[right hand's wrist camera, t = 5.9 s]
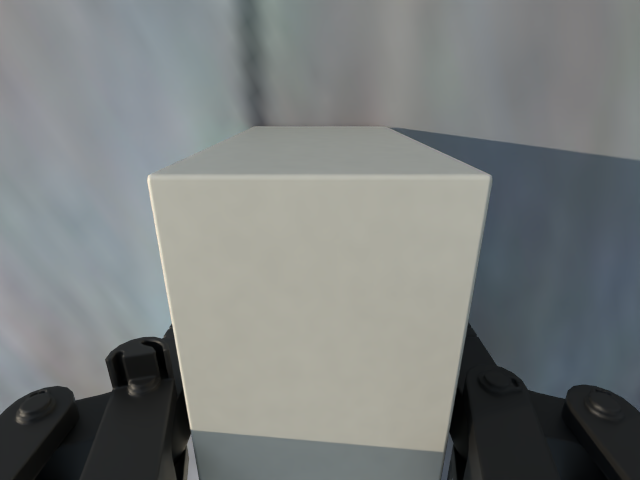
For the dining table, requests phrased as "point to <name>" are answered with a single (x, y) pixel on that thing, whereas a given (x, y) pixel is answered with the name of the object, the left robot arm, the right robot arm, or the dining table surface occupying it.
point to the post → (319, 299)
